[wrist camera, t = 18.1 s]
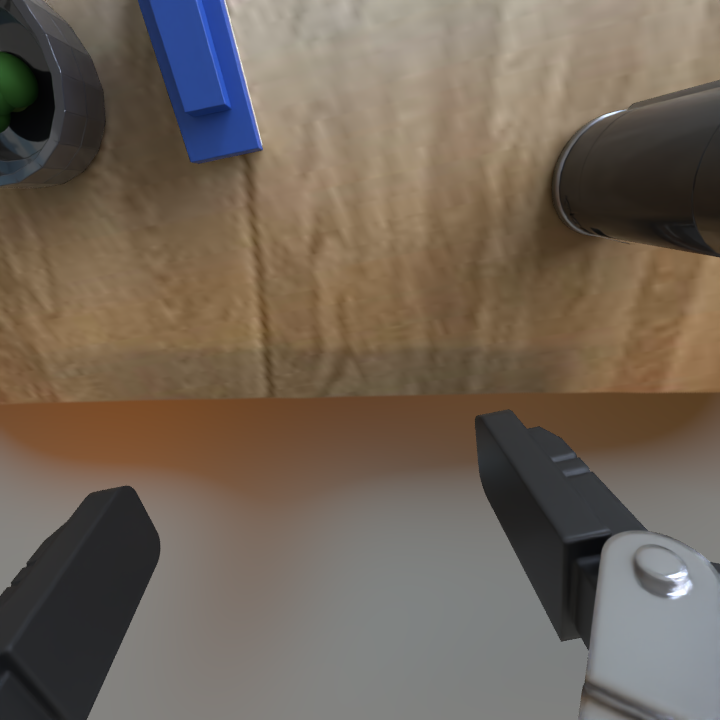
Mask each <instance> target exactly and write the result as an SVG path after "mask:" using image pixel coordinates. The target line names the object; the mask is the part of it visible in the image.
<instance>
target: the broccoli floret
mask: <svg viewBox="0 0 720 720" xmlns="http://www.w3.org/2000/svg"><path fill="white" fill-rule="evenodd" d="M38 93H39V87H38V82H37V80H36V77H35V75H34V74H33V72H32V71H31V69H30V68H29V67H28V66H27V65H26V64H25V63H24V62H23V61H21V60H20V59H19V58H17V57H15V56H13V55H11V54H9V53H6V52H1V51H0V133H1V132H3V131H5V130H6V129H7V128H8V126H9V124H10V121H11V114H10V113H11V112H20V111H23V110H25V109H26V108H27V107H28V106H29V105H31V104H33V103H34V102H35V100H36V99H37V97H38Z"/></svg>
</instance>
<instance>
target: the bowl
mask: <svg viewBox="0 0 720 720" xmlns="http://www.w3.org/2000/svg"><path fill="white" fill-rule="evenodd" d="M0 51H1V52H6V53H9V54H11V55H13V56H15V57H17V58H19V59H20V60H21V61H23V62H24V63H25V64H26V65H27V66H28V67H29V68H30V69H31V71H32V72H33V74H34V75H35V77H36V80H37V82H38V87H39V93H38V97H37V99H36V100H35V102H34V103H33V104H31V105H29V106H28V107H27V108H26V109H25V110H23V111H20V112H11V113H10V114H11V121H10V124H9V126H8V128H7V129H6V130H5V131H3V132H1V133H0V188H42V187H48V186H54V185H59V184H63V183H66V182H67V181H69V180H70V179H72V178H74V177H75V176H77V175H78V174H80V173H82V172H83V171H84V170H86V168H87V167H88V165H89V164H90V162H91V161H92V160H93V158H94V157H95V155H96V154H97V152H98V151H99V150H98V149H99V148H100V144H101V140H102V136H103V131H104V127H105V122H106V121H105V108H104V95H103V89H102V87H101V84H100V81H99V78H98V75H97V72H96V70H95V67H94V64H93V61H92V59H91V57H90V55H89V54H88V52H87V51H86V49H85V48H84V46H83V45H82V43H81V42H80V40H79V39H78V37H77V35H76V34H75V32H74V31H73V29H72V28H71V27H70V26H69V24H68V23H67V22H66V21H64V20H63V19H62V18H61V17H60V16H59V15H58V14H57V13H56V12H55V11H54V10H53V9H52V8H51V7H50V6H49V5H48V4H47V3H45V2H44V1H43V0H0Z"/></svg>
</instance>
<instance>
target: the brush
mask: <svg viewBox="0 0 720 720" xmlns="http://www.w3.org/2000/svg"><path fill="white" fill-rule="evenodd" d="M138 3H139V6H140V9H141V12H142V15H143V18H144V21H145V24H146V27H147V30H148V33H149V36H150V39H151V42H152V45H153V49H154V52H155V55H156V58H157V61H158V64H159V67H160V70H161V73H162V76H163V79H164V82H165V85H166V88H167V91H168V94H169V97H170V100H171V104H172V107H173V110H174V113H175V116H176V119H177V122H178V125H179V128H180V131H181V134H182V137H183V140H184V143H185V146H186V149H187V152H188V155H189V159H190V162H192V163H197V164H200V163H205V162H209V161H214V160H219V159H224V158H228V157H233V156H238V155H243V154H247V153H252V152H257V151H261V150H263V148H262V146H263V144H262V141H261V137H260V133H259V129H258V125H257V121H256V117H255V113H254V110H253V106H252V102H251V98H250V94H249V90H248V86H247V82H246V78H245V75H244V71H243V67H242V63H241V59H240V55H239V51H238V47H237V44H236V40H235V36H234V32H233V28H232V24H231V20H230V16H229V13H228V9H227V5H226V1H225V0H138Z"/></svg>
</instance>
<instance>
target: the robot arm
mask: <svg viewBox="0 0 720 720" xmlns="http://www.w3.org/2000/svg"><path fill="white" fill-rule="evenodd" d="M552 197H553V203H554V206H555V209H556V211H557V213H558V215H559V217H560V219H561V220H562V221H563V222H564V223H565V224H566V225H567V226H568V227H569V228H570V229H572V230H574V231H576V232H578V233H581V234H584V235H590V236H597V237H602V238H605V237H608V238H606V239H609V238H613V239H618V240H624V241H630V242H635V243H641V244H647V245H652V246H658V247H664V248H670V249H675V250H681V251H687V252H692V253H698V254H704V255H710V256H715V257H720V80H717V81H713V82H710V83H706V84H702V85H699V86H695V87H691V88H688V89H684V90H680V91H677V92H673V93H669V94H666V95H662V96H658V97H655V98H651V99H647V100H644V101H640V102H636V103H634V104H632V105H631V106H630V107H629V108H628V109H627V110H621V111H616V112H612V113H608V114H605V115H602V116H599V117H597V118H595V119H593V120H591V121H590V122H588V123H587V124H585V125H584V126H583V127H582V128H580V129H579V130H578V131H577V132H576V133H575V134H574V135H573V136H572V138H571V139H570V140H569V141H568V143H567V144H566V146H565V147H564V149H563V151H562V152H561V154H560V156H559V158H558V161H557V164H556V166H555V170H554V174H553V180H552ZM613 239H610V240H613ZM614 241H617V240H614ZM618 242H621V241H618ZM622 243H625V242H622ZM627 244H629V243H627ZM475 429H476V441H477V453H478V465H479V473H480V478H481V482H482V486H483V489H484V491H485V494H486V496H487V498H488V500H489V502H490V504H491V506H492V508H493V510H494V512H495V514H496V516H497V518H498V520H499V522H500V524H501V526H502V528H503V530H504V532H505V533H506V535H507V537H508V539H509V541H510V543H511V545H512V547H513V549H514V551H515V553H516V555H517V557H518V558H519V560H520V563H521V564H522V566H523V568H524V570H525V572H526V574H527V576H528V578H529V580H530V582H531V584H532V586H533V588H534V590H535V592H536V594H537V595H538V597H539V599H540V601H541V603H542V605H543V607H544V609H545V611H546V613H547V615H548V617H549V619H550V621H551V623H552V625H553V626H554V629H555V630H556V632H557V634H558V636H559V638H560V640H561V641H567V640H572V639H577V638H582V640H583V642H584V644H585V645H586V647H587V649H588V651H589V653H588V661H587V669H586V676H585V683H584V685H583V689H582V695H581V701H580V708H579V716H578V720H720V564H718V563H712V562H709V561H708V560H707V559H706V558H705V557H703V556H702V555H701V554H700V553H699V552H697V551H696V550H694V549H693V548H691V547H690V546H688V545H686V544H684V543H683V542H681V541H679V540H676V539H674V538H672V537H669V536H666V535H663V534H660V533H655V532H650V531H648V530H647V529H646V528H645V527H644V526H643V525H642V524H641V523H640V522H639V521H638V520H637V519H636V518H635V517H634V515H633V514H632V513H631V512H630V511H629V510H628V509H627V508H626V507H625V506H624V505H623V504H622V503H621V502H620V500H619V499H618V498H617V497H616V496H615V495H614V494H613V493H612V492H611V491H610V490H609V489H608V488H607V487H606V485H605V484H604V483H603V482H602V481H601V480H600V479H599V478H598V477H597V476H596V475H595V474H594V473H593V472H590V470H589V467H588V466H587V465H586V464H585V463H584V462H583V461H582V460H581V459H580V458H577V456H576V453H575V452H574V451H573V450H572V449H571V448H570V447H569V446H568V445H567V444H566V443H565V442H564V441H563V439H562V438H560V437H558V436H556V435H555V434H553V433H551V432H549V431H547V430H545V429H543V428H541V427H534V428H529V429H527V428H526V427H525V426H524V425H523V424H522V423H521V421H520V420H519V419H518V418H517V416H516V415H515V414H514V413H513V412H512V411H511V410H509V409H508V410H503V411H498V412H493V413H489V414H483V415H478V416H476V418H475ZM159 555H160V539H159V536H158V533H157V531H156V529H155V527H154V525H153V523H152V521H151V519H150V517H149V516H148V514H147V512H146V510H145V508H144V506H143V504H142V502H141V500H140V499H139V497H138V495H137V493H136V491H135V490H134V489H133V488H132V487H130V486H122V487H117V488H111V489H107V490H102V491H97V492H93V493H90V494H89V495H88V496H87V497H86V498H85V499H84V501H83V502H82V503H81V504H80V506H79V507H78V508H77V510H76V511H75V512H74V513H73V515H72V516H71V517H70V519H69V520H68V521H67V522H66V523H65V524H64V525H63V526H61V527H60V528H59V529H58V530H56V532H54V533H53V534H52V535H51V536H50V537H48V538H47V539H46V540H45V541H44V542H43V543H42V545H41V546H40V547H39V548H38V549H37V551H36V552H35V553H34V555H33V556H32V557H31V558H30V559H29V561H28V562H27V567H25V568H22V570H21V571H20V572H19V573H18V575H17V576H16V577H15V578H14V580H13V581H12V582H11V587H7V588H6V590H5V591H4V592H3V593H2V594H1V596H0V720H87V718H88V715H89V713H90V711H91V709H92V707H93V704H94V702H95V700H96V698H97V696H98V693H99V691H100V689H101V687H102V684H103V682H104V680H105V678H106V676H107V673H108V671H109V669H110V667H111V664H112V662H113V660H114V658H115V655H116V654H117V651H118V649H119V647H120V645H121V642H122V640H123V638H124V636H125V633H126V631H127V629H128V627H129V625H130V622H131V620H132V618H133V616H134V614H135V611H136V609H137V607H138V605H139V603H140V600H141V598H142V596H143V594H144V591H145V589H146V587H147V585H148V583H149V580H150V578H151V576H152V573H153V572H154V569H155V567H156V565H157V563H158V559H159Z"/></svg>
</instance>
